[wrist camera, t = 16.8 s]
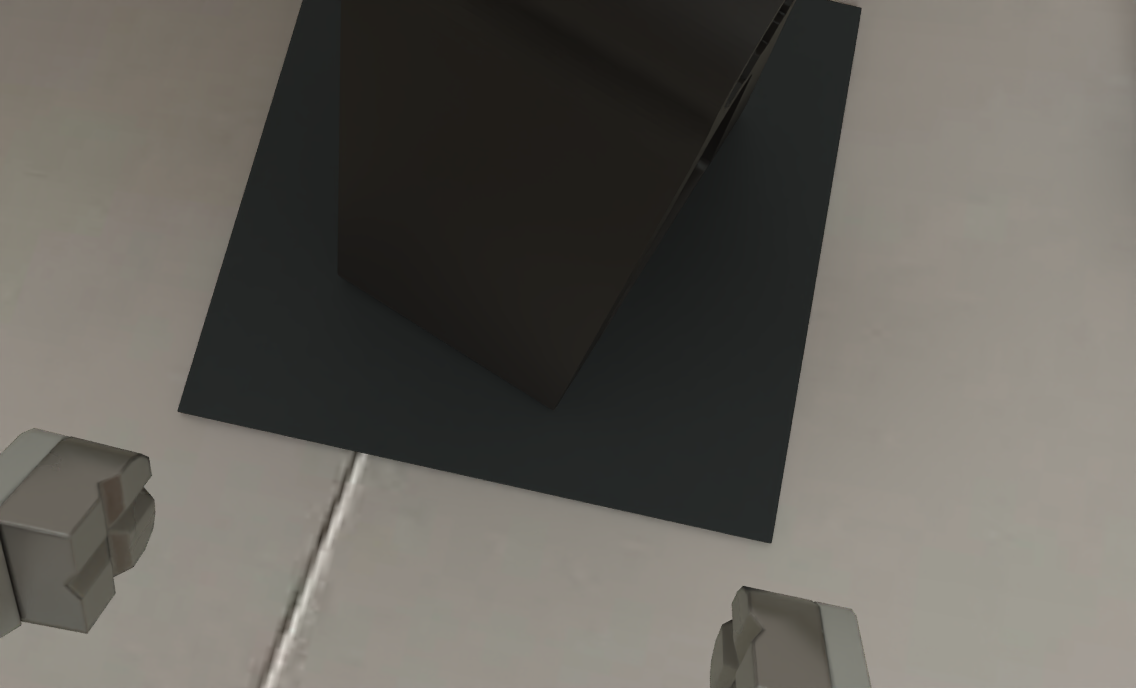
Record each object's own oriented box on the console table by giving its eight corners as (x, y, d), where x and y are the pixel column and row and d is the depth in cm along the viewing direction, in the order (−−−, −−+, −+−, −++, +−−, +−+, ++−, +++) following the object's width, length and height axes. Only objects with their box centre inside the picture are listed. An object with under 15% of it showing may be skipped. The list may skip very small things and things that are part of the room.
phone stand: (551, 414, 21) (599, 288, 9) (338, 277, 21) (107, -21, 9) (743, 115, 22) (999, -328, 10) (543, -8, 22) (572, -572, 11)
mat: (180, 412, 20) (177, 411, 20) (339, -110, 23) (337, -115, 23) (769, 543, 20) (772, 543, 20) (859, 12, 23) (861, 7, 23)
